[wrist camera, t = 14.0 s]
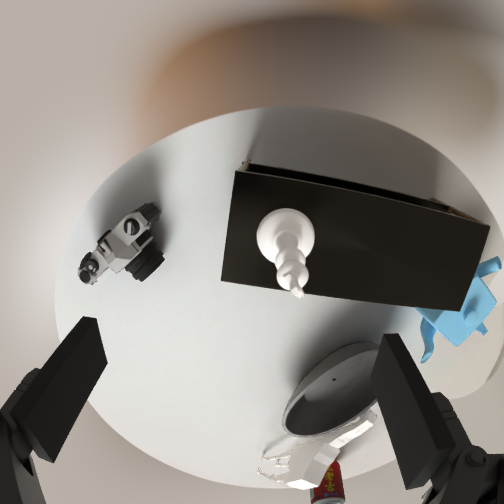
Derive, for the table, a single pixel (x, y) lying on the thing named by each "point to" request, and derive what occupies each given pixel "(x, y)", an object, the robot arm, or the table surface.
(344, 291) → the rack
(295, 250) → the chess piece
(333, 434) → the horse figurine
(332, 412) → the bowl
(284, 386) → the table surface
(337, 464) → the soda can
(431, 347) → the teapot
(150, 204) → the camera
